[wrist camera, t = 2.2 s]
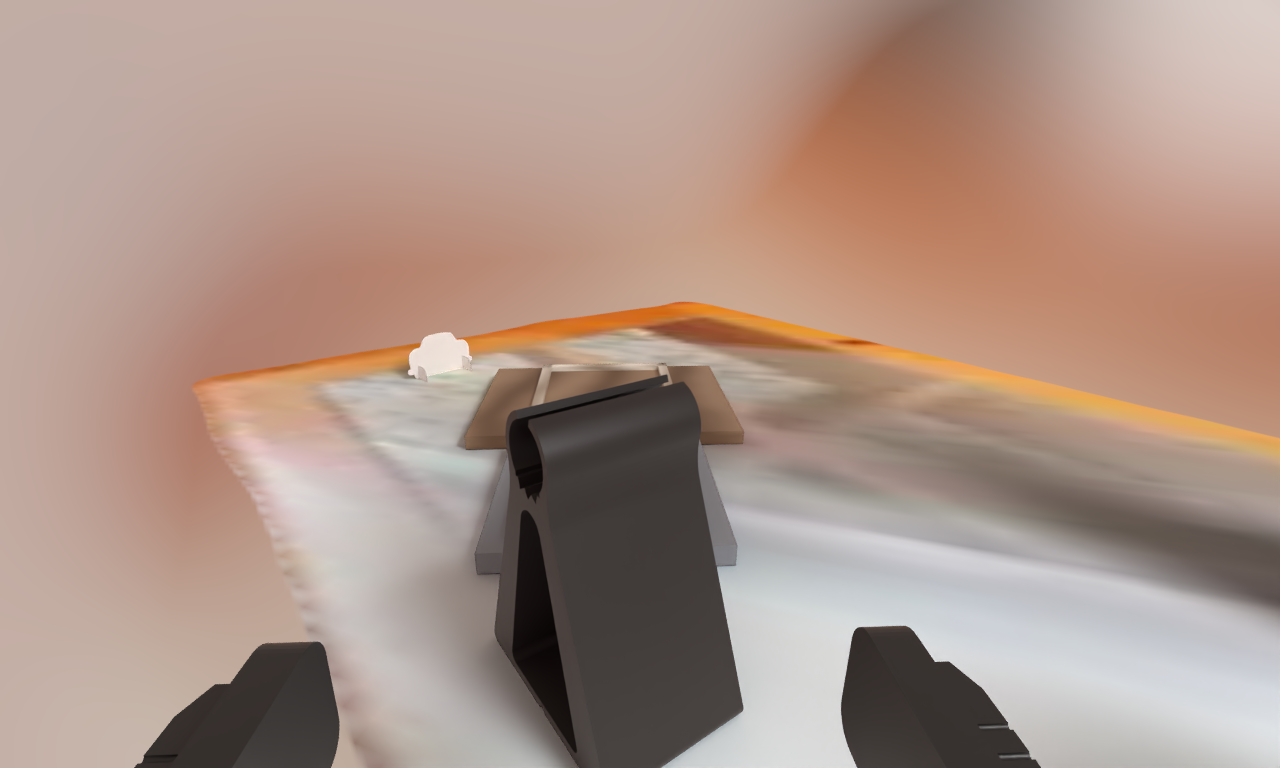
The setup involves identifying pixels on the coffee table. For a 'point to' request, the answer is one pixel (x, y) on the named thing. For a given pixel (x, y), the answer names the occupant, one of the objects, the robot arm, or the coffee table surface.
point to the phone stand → (615, 575)
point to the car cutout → (439, 356)
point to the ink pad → (495, 523)
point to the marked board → (576, 379)
